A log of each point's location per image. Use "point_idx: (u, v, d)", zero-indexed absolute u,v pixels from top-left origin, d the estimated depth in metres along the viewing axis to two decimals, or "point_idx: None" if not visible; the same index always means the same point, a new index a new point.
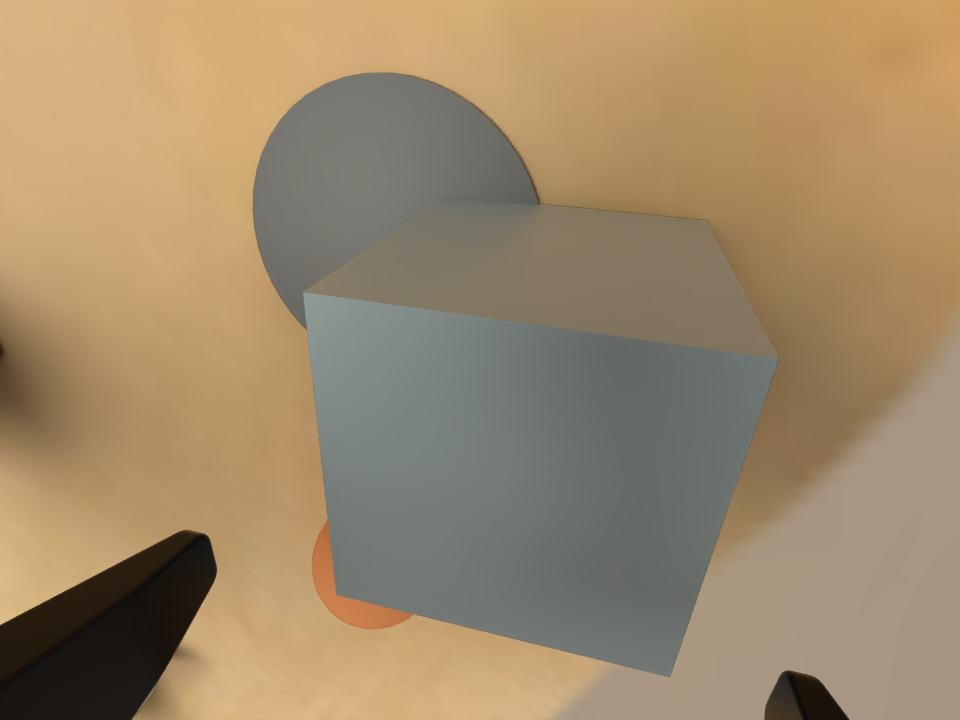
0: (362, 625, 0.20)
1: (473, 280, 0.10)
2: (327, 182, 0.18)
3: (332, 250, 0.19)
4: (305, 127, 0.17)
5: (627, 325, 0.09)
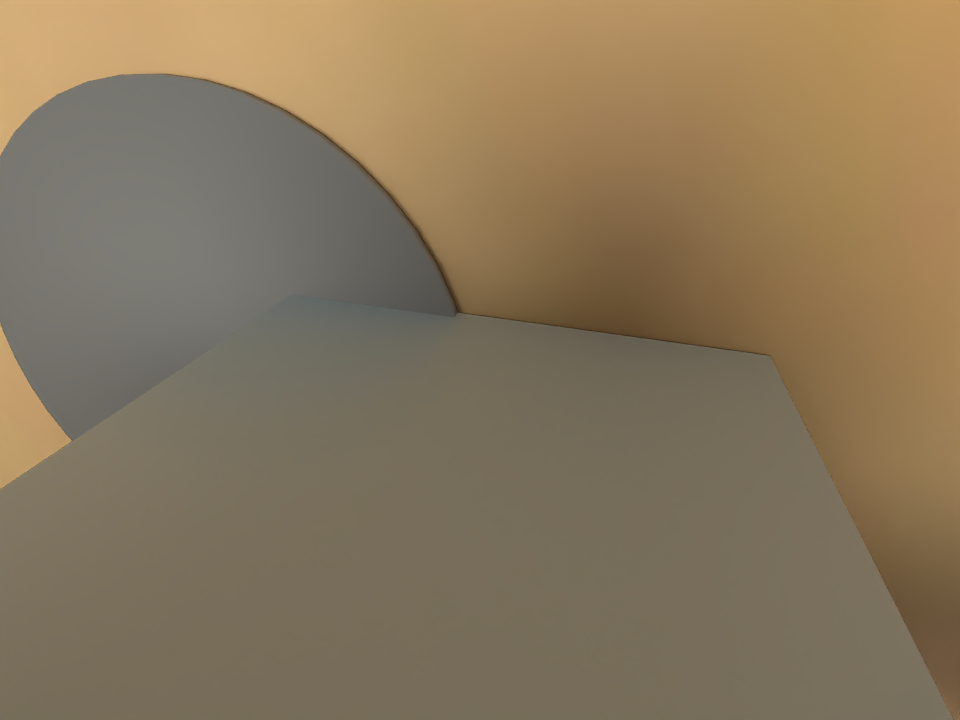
0: None
1: None
2: (97, 265, 0.10)
3: (127, 371, 0.11)
4: (42, 171, 0.10)
5: None
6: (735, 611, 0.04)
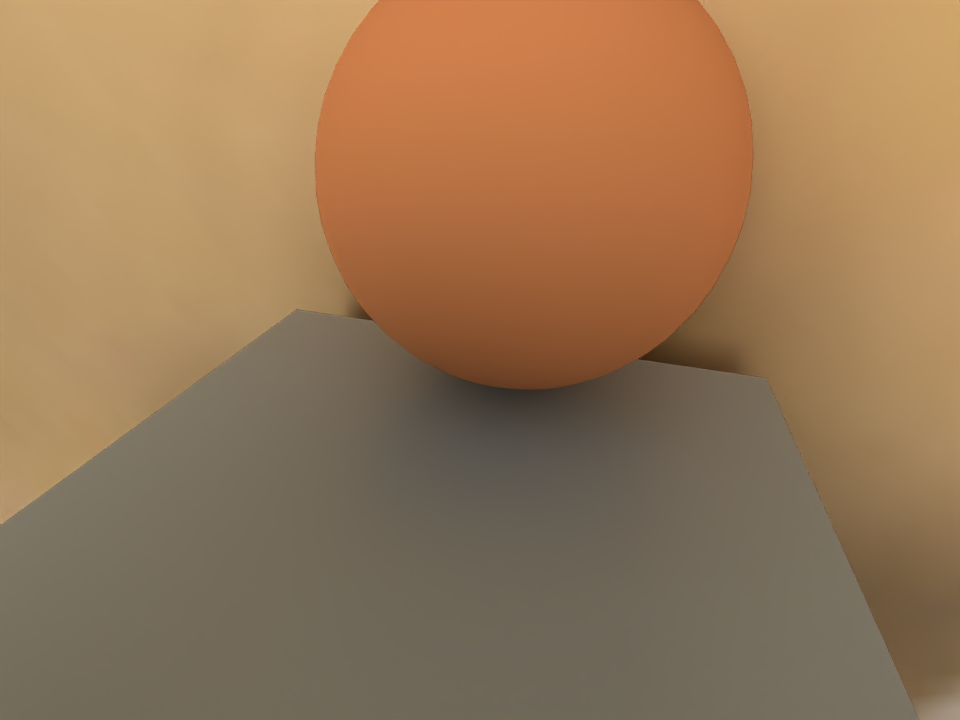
0: None
1: None
2: None
3: None
4: None
5: None
6: (727, 654, 0.04)
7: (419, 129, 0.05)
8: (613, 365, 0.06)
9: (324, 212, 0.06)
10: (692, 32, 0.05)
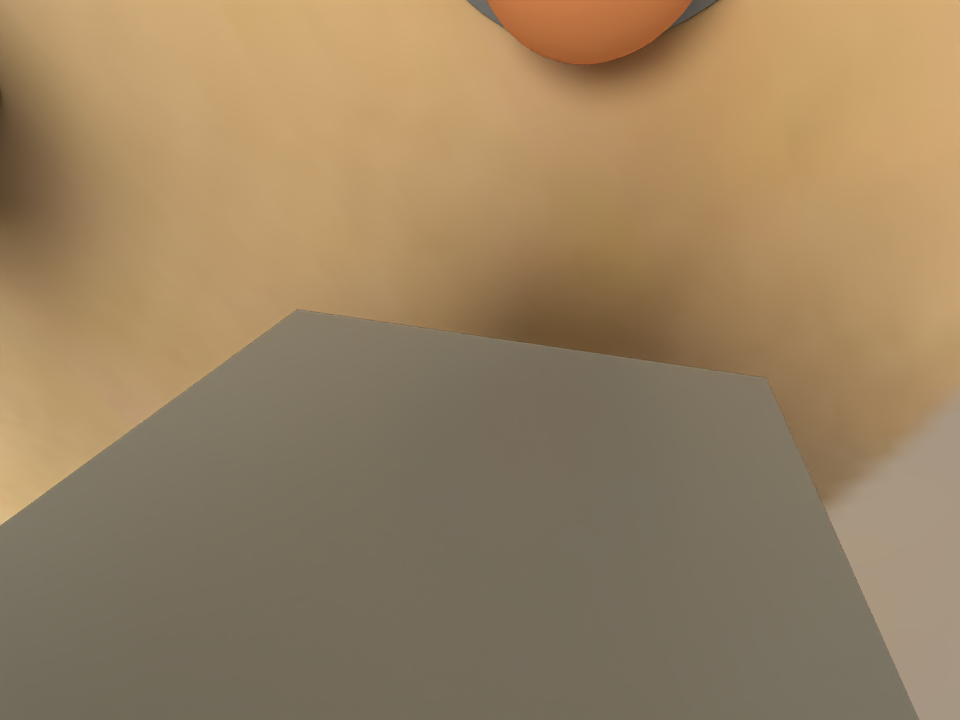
0: None
1: None
2: None
3: None
4: None
5: None
6: (727, 653, 0.04)
7: None
8: None
9: None
10: None
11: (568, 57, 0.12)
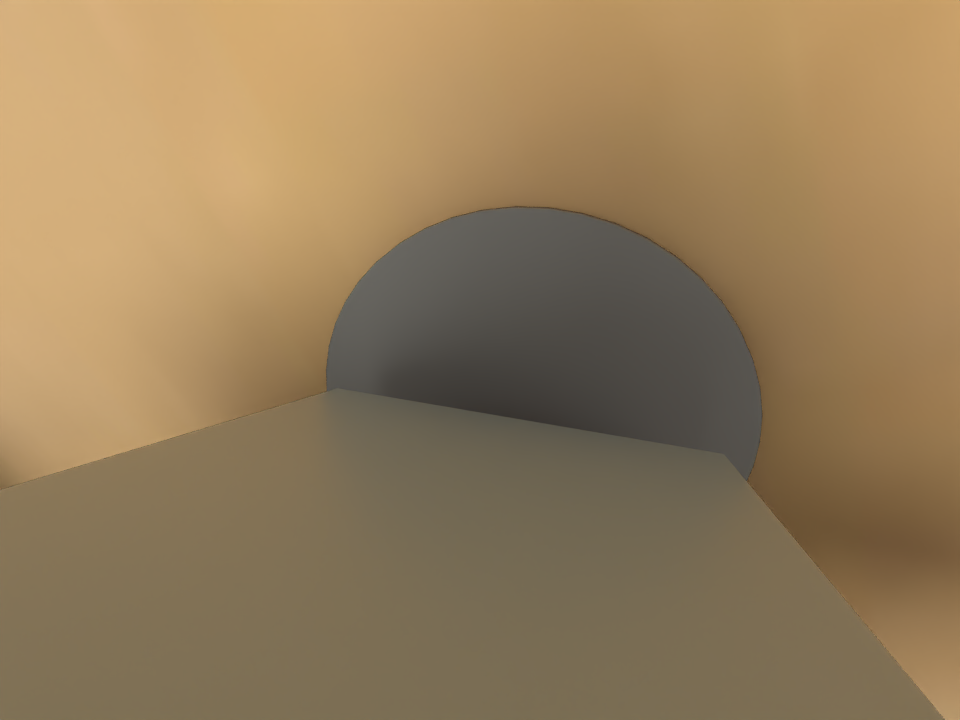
0: None
1: (213, 577, 0.04)
2: (439, 345, 0.12)
3: None
4: (413, 273, 0.12)
5: None
6: (693, 553, 0.06)
7: None
8: None
9: None
10: None
11: None
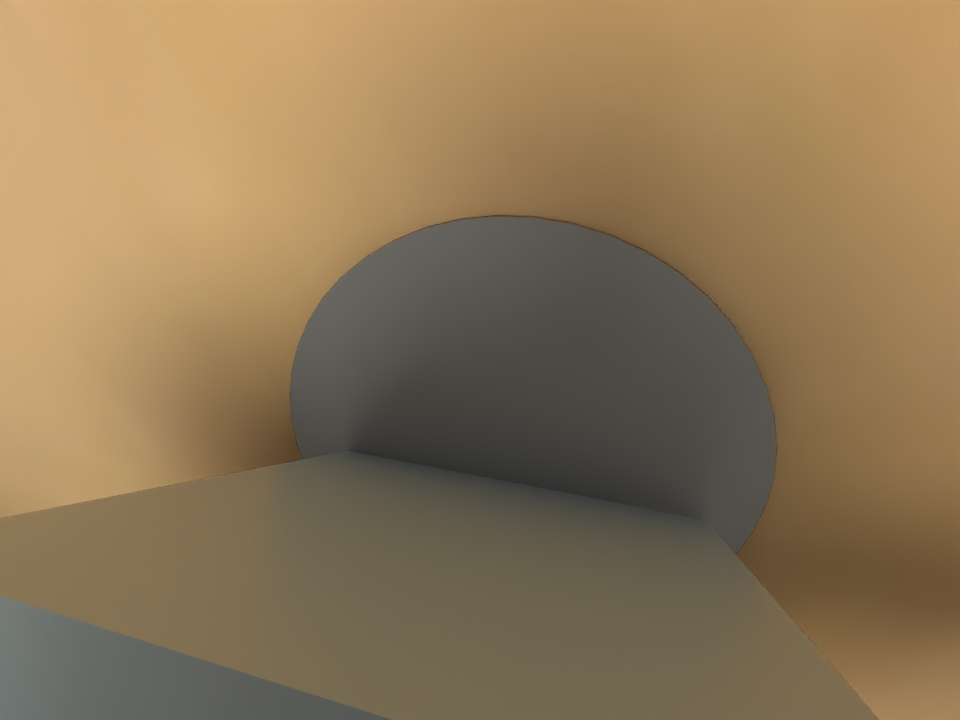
0: None
1: (276, 565, 0.05)
2: (413, 370, 0.11)
3: (414, 459, 0.12)
4: (382, 290, 0.10)
5: None
6: (668, 583, 0.07)
7: None
8: None
9: None
10: None
11: None
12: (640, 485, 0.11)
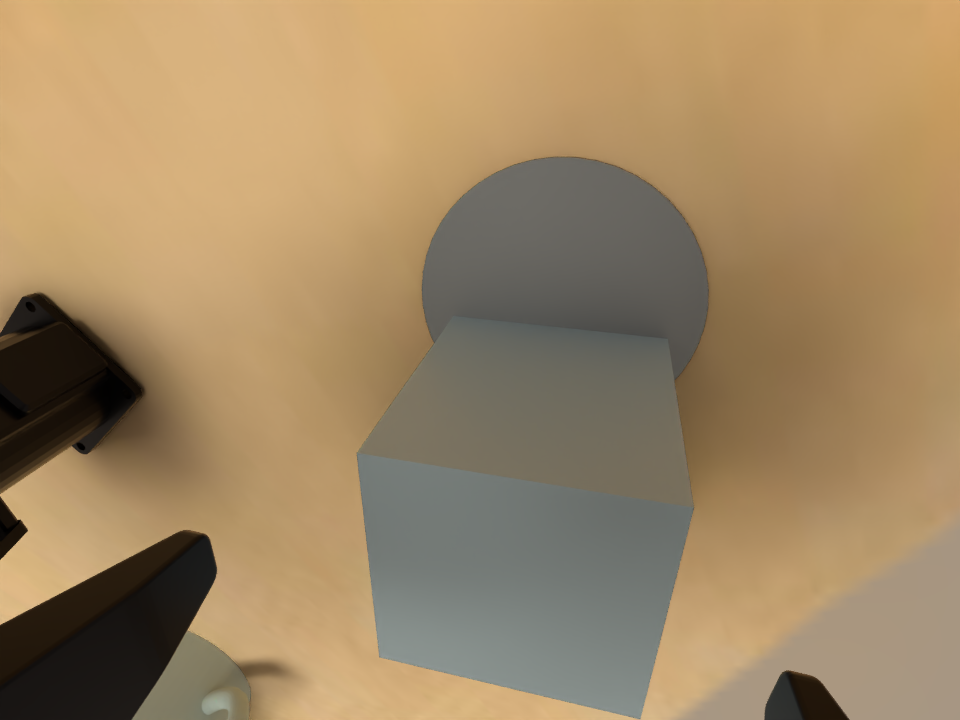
0: None
1: (479, 430, 0.14)
2: (501, 251, 0.19)
3: (497, 311, 0.20)
4: (487, 202, 0.18)
5: (590, 477, 0.13)
6: (631, 403, 0.15)
7: None
8: None
9: None
10: None
11: None
12: (632, 319, 0.19)
